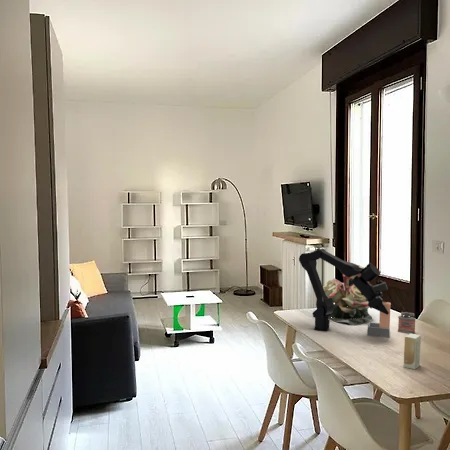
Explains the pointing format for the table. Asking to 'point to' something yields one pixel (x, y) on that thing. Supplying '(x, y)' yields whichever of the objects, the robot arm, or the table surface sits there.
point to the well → (377, 330)
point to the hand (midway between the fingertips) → (388, 312)
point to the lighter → (406, 323)
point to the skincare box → (412, 351)
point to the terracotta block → (385, 316)
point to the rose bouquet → (347, 301)
